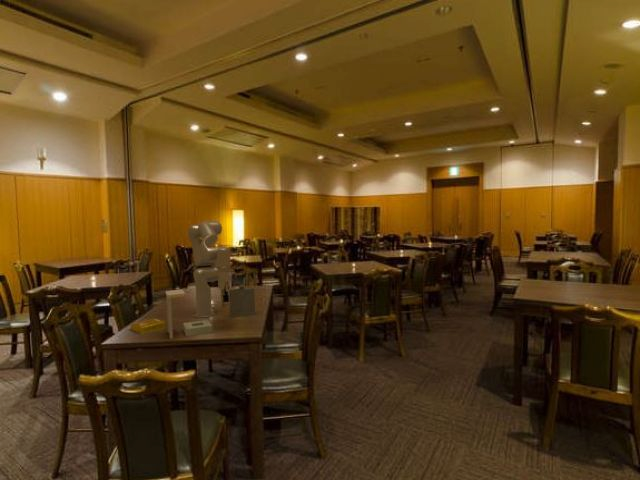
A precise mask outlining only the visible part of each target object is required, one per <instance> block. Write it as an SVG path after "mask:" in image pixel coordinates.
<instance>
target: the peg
mask: <svg viewBox="0 0 640 480" xmlns="http://www.w3.org/2000/svg"><path fill="white" fill-rule="evenodd" d="M224 290H226V288H225V289H224ZM220 297H221V298H222V300H221V309H228V308H229V309H230V301H229V302H223V290H221V289H220ZM221 298H220V299H221Z"/></svg>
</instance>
